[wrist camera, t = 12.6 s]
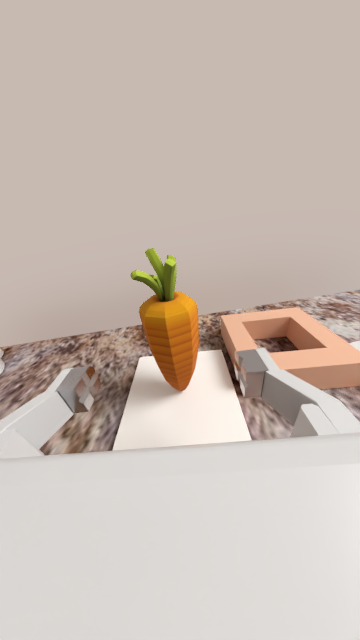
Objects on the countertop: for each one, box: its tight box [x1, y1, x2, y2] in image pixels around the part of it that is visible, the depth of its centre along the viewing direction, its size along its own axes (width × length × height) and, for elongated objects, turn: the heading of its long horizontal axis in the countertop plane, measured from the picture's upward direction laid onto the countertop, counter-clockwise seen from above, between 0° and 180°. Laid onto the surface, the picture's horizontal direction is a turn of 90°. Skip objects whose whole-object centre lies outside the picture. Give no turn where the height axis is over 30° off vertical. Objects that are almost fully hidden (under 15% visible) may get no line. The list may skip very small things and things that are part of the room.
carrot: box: [131, 248, 199, 391], centre depth 16 cm, size 5×5×15 cm
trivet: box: [112, 350, 251, 451], centre depth 20 cm, size 12×12×1 cm
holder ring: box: [221, 307, 360, 389], centre depth 23 cm, size 12×12×4 cm
